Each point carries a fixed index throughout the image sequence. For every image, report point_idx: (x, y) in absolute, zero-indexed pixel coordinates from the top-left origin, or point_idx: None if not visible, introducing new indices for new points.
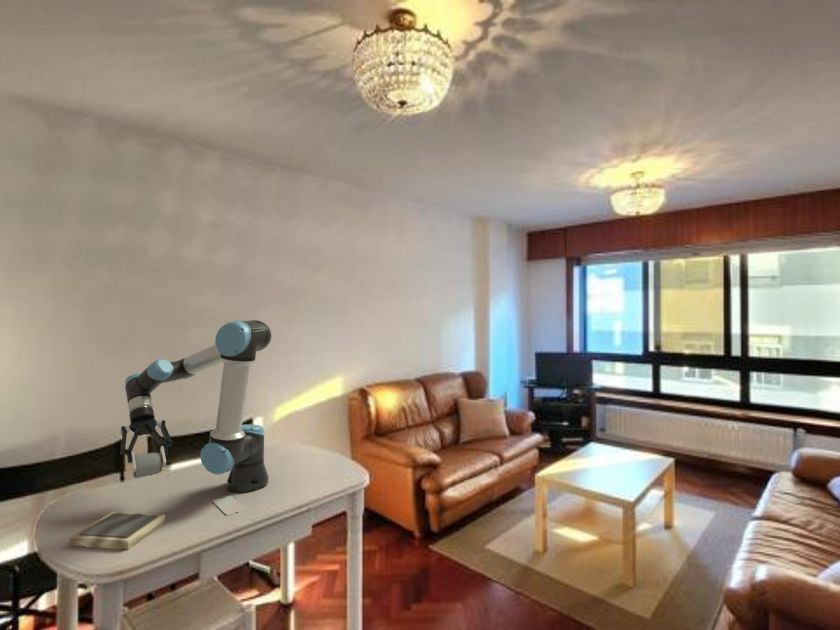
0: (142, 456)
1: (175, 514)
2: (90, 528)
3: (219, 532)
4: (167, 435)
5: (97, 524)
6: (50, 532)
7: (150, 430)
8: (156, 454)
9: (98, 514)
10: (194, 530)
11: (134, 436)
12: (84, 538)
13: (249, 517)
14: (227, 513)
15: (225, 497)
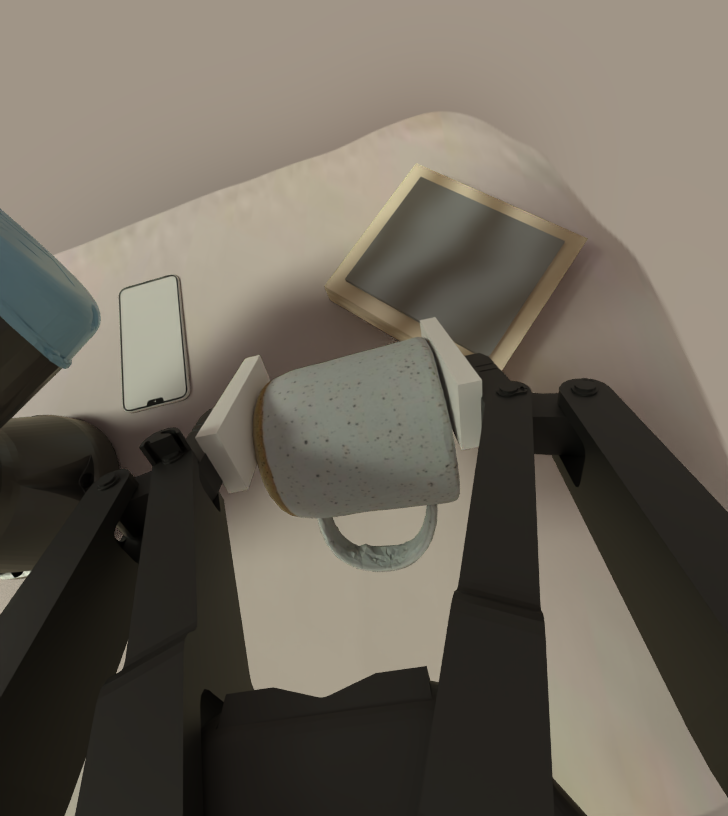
0: (384, 374)
1: (300, 344)
2: (538, 265)
3: (213, 194)
4: (62, 556)
5: (523, 285)
6: (674, 377)
7: (211, 719)
8: (282, 401)
9: (545, 463)
10: (263, 225)
11: (512, 557)
12: (540, 219)
13: (131, 244)
14: (171, 284)
15: (146, 401)
